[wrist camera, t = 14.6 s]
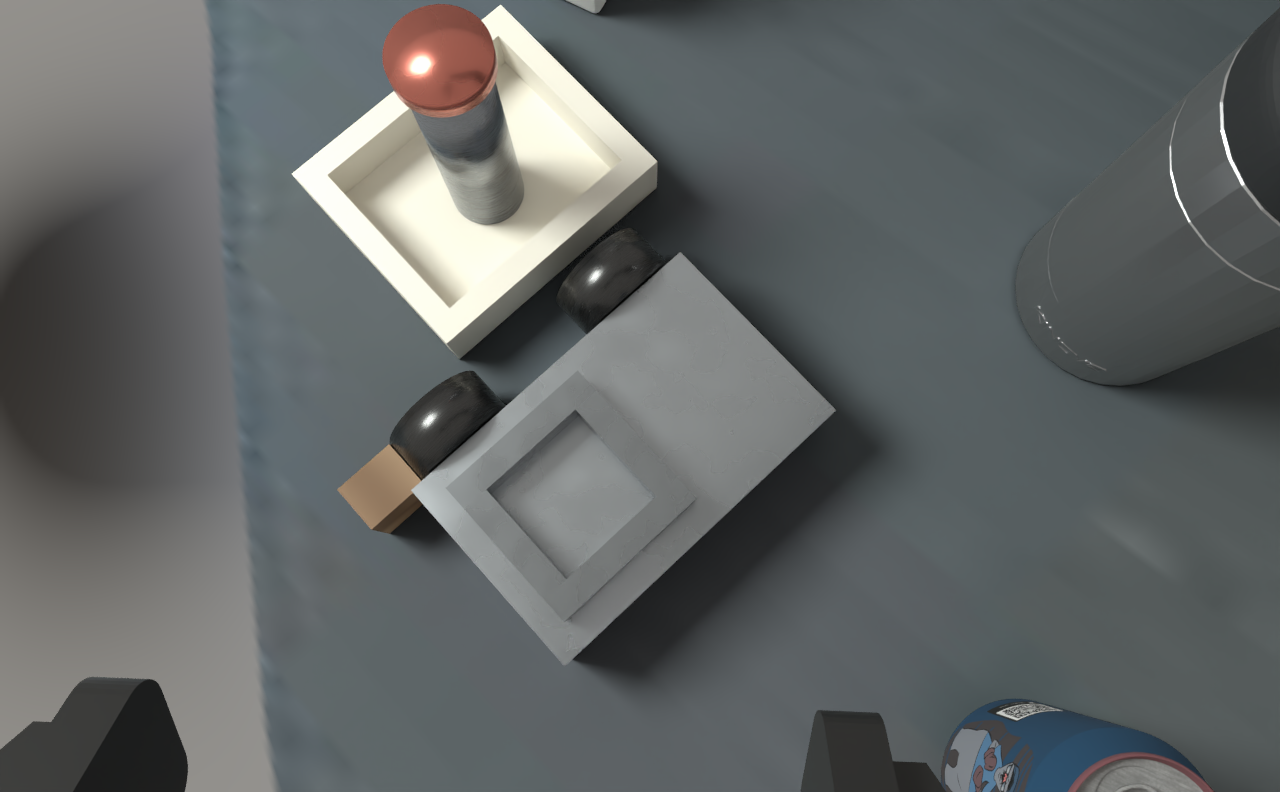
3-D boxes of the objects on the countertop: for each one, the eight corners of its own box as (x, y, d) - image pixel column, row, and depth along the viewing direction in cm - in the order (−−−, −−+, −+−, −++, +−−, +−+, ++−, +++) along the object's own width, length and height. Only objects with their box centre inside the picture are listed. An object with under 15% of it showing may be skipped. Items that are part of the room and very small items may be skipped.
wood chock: (405, 453, 45) (389, 444, 42) (438, 490, 45) (423, 483, 42) (357, 496, 45) (337, 489, 42) (389, 533, 45) (371, 529, 42)
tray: (509, 39, 50) (500, 4, 47) (656, 187, 48) (657, 161, 45) (313, 199, 48) (291, 173, 45) (459, 359, 46) (446, 343, 43)
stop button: (493, 136, 48) (446, -16, 36) (547, 193, 47) (516, 57, 36) (429, 188, 47) (359, 49, 36) (483, 246, 47) (430, 125, 35)
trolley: (643, 245, 47) (642, 199, 42) (819, 425, 46) (843, 403, 40) (397, 460, 45) (363, 442, 40) (572, 659, 43) (561, 669, 38)
